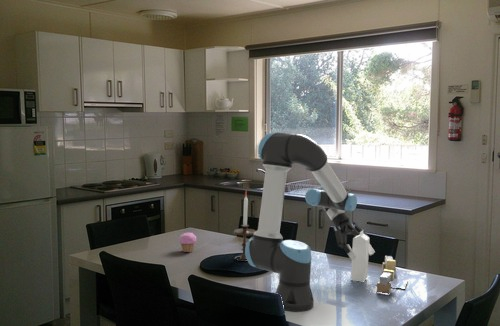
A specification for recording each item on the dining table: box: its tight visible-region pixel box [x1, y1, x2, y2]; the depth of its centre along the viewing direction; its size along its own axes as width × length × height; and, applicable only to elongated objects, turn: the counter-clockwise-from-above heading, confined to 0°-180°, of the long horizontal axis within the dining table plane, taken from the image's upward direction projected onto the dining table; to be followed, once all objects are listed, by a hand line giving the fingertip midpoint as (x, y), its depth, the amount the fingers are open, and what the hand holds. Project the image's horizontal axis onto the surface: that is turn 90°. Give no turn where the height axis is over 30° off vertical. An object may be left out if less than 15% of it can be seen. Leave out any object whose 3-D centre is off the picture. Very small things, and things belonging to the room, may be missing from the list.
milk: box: [350, 229, 370, 282], centre depth 216 cm, size 6×6×22 cm
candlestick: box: [233, 190, 257, 261], centre depth 240 cm, size 11×11×35 cm
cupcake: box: [178, 232, 197, 253], centre depth 252 cm, size 9×9×10 cm
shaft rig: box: [376, 255, 397, 294], centre depth 213 cm, size 34×12×8 cm, turn 158°
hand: (363, 256), depth 215 cm, fingers open, 13 cm apart
